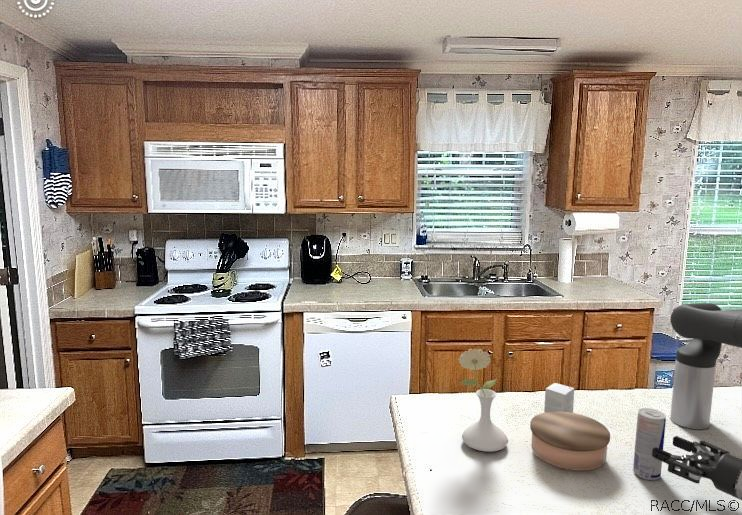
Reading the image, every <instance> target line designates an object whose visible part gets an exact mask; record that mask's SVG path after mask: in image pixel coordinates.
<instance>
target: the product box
mask: <svg viewBox="0 0 742 515" xmlns="http://www.w3.org/2000/svg"><path fill="white" fill-rule="evenodd" d="M544 393H545V394H544V408H543V413H545V412H553V411H561V412H571V413H574V401H575V399H574V398H575V388H574V387H572V386H567V385H564V384H560V383H557V382H554V383H552V384H550V385H548V387H546V388H545V392H544Z"/></svg>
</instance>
